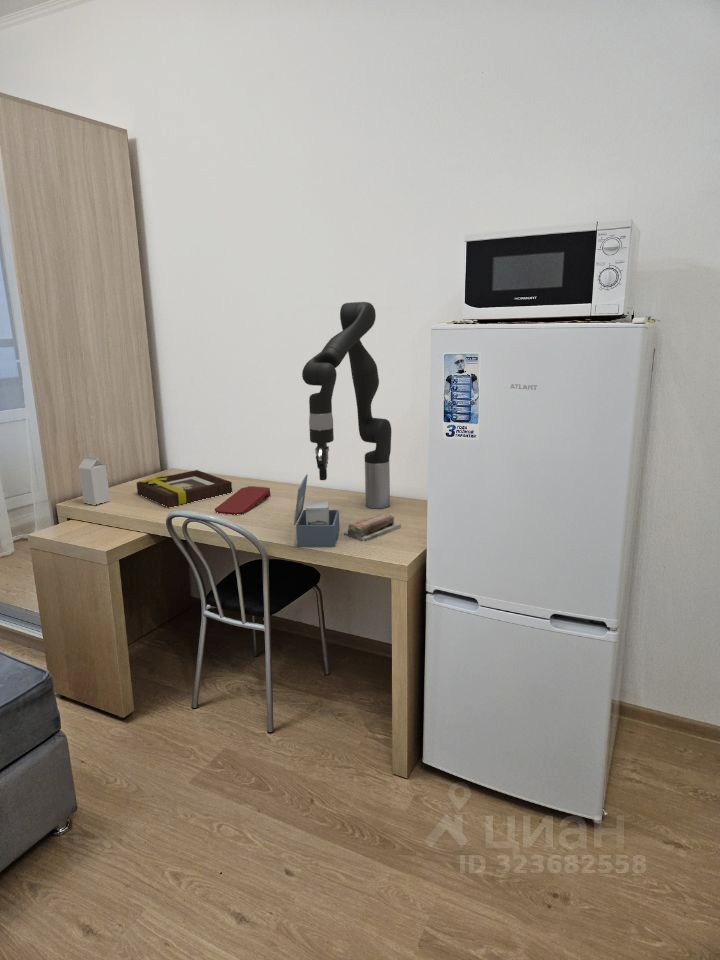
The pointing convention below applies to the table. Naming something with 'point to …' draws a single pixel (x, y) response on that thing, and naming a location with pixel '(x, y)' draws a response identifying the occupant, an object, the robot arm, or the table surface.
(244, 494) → the red wedge
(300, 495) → the lid
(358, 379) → the robot arm
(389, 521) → the packaged product
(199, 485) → the brown gift box
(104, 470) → the milk carton
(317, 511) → the supplement box
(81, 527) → the table surface
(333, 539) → the open blue-gray box
